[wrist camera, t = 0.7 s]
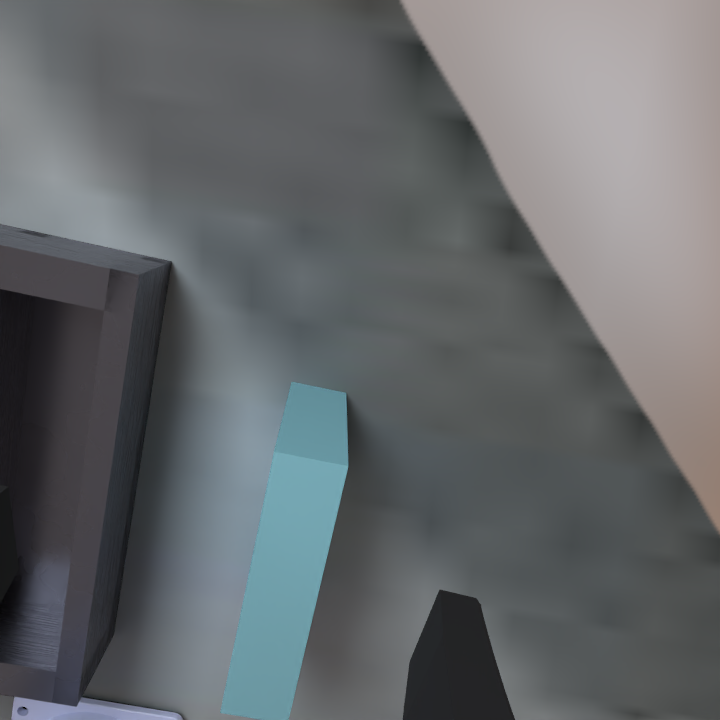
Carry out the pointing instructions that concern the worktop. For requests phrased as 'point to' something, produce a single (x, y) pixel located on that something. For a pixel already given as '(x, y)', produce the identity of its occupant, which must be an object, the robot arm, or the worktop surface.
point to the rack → (70, 447)
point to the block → (289, 554)
